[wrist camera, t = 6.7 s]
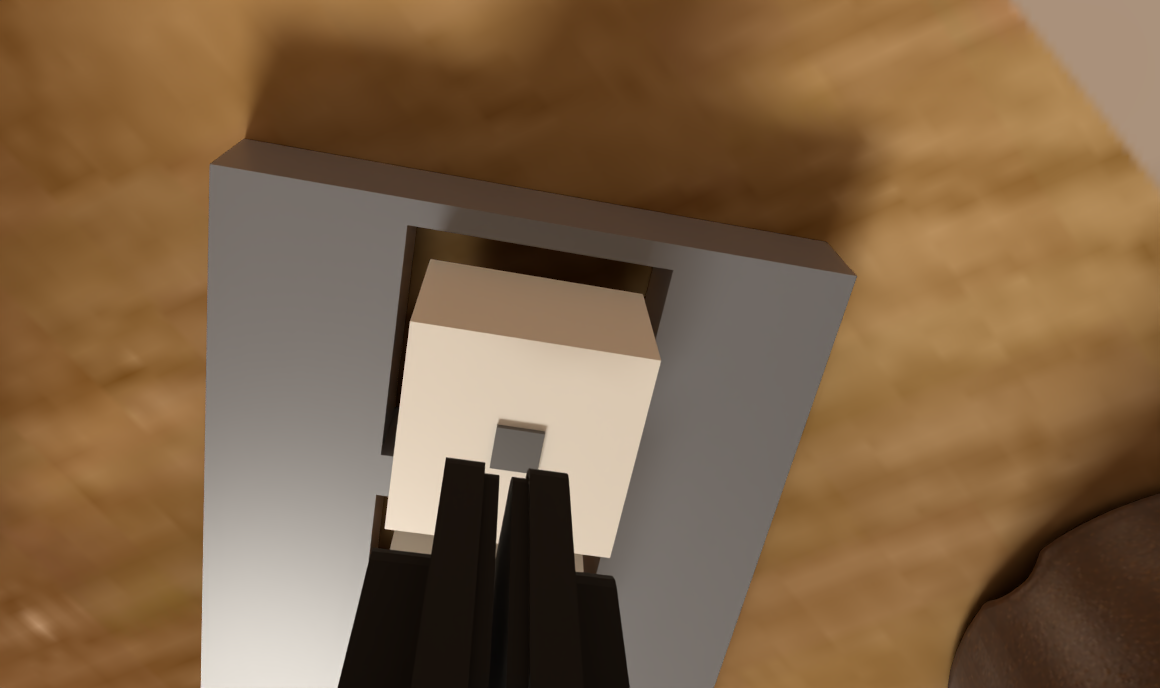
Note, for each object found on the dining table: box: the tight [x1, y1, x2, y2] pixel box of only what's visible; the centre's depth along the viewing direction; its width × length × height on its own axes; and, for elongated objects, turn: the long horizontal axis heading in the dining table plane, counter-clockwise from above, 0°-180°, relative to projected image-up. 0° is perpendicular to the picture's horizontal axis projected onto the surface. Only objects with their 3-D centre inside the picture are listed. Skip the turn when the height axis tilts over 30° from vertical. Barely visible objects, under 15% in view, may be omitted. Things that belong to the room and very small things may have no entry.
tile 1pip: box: [385, 259, 661, 558], centre depth 16 cm, size 4×4×3 cm
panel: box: [201, 139, 857, 688], centre depth 21 cm, size 12×18×2 cm, turn 169°
